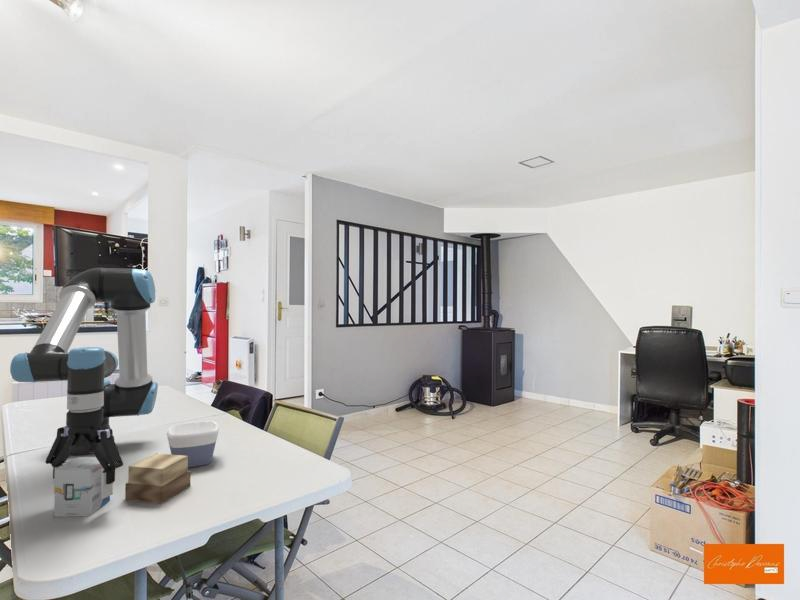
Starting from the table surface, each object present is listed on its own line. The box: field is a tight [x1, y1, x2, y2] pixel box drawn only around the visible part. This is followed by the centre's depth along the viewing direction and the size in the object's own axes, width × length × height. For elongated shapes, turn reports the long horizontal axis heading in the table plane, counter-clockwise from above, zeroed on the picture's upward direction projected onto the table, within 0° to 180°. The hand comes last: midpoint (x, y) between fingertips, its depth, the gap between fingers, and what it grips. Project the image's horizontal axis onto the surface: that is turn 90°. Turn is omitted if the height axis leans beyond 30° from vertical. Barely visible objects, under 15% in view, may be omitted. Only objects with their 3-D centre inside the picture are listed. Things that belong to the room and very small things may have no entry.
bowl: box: [166, 420, 220, 469], centre depth 139 cm, size 15×15×11 cm
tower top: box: [127, 453, 189, 486], centre depth 116 cm, size 10×10×4 cm
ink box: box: [53, 456, 111, 518], centre depth 107 cm, size 9×8×12 cm
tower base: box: [124, 470, 192, 504], centre depth 116 cm, size 11×11×4 cm
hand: (83, 494), depth 107 cm, fingers open, 13 cm apart
